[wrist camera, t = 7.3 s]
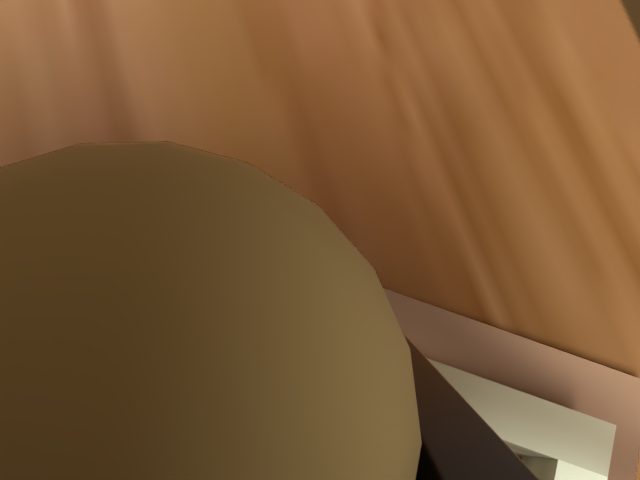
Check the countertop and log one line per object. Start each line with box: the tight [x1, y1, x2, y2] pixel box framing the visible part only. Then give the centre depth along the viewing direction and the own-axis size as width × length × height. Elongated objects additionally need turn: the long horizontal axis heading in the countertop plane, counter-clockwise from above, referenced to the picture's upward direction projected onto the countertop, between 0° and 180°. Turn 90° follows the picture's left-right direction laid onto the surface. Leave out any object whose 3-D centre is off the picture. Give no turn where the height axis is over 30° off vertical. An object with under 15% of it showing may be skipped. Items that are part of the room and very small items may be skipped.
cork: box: [0, 141, 422, 480], centre depth 9 cm, size 6×6×11 cm
